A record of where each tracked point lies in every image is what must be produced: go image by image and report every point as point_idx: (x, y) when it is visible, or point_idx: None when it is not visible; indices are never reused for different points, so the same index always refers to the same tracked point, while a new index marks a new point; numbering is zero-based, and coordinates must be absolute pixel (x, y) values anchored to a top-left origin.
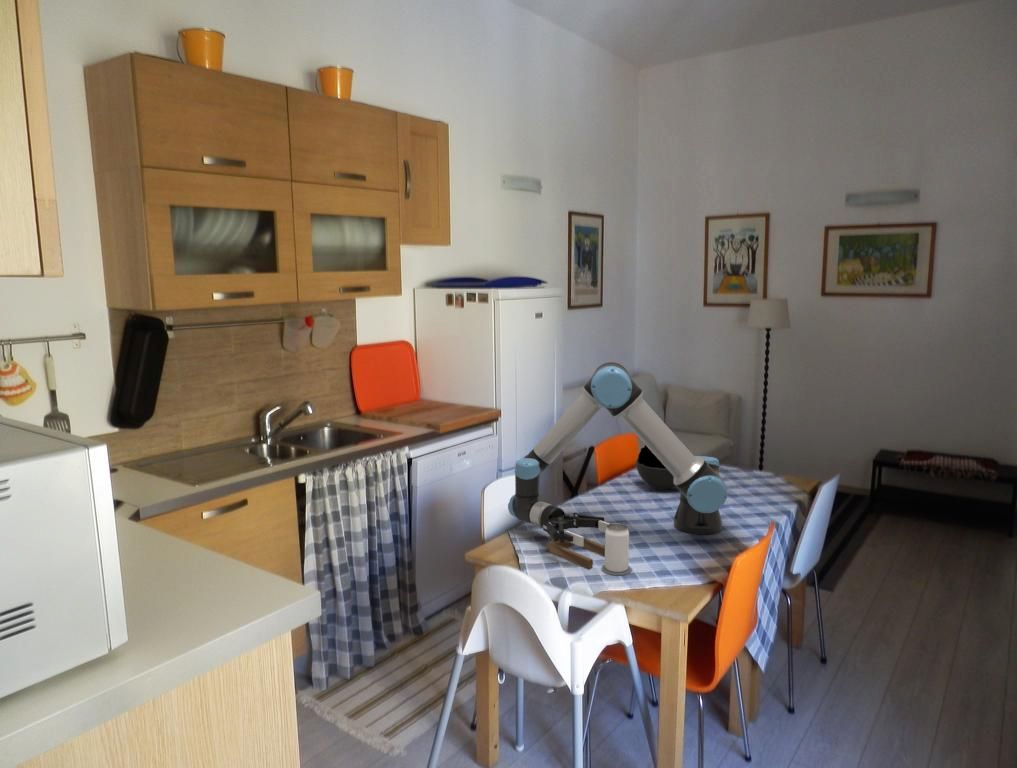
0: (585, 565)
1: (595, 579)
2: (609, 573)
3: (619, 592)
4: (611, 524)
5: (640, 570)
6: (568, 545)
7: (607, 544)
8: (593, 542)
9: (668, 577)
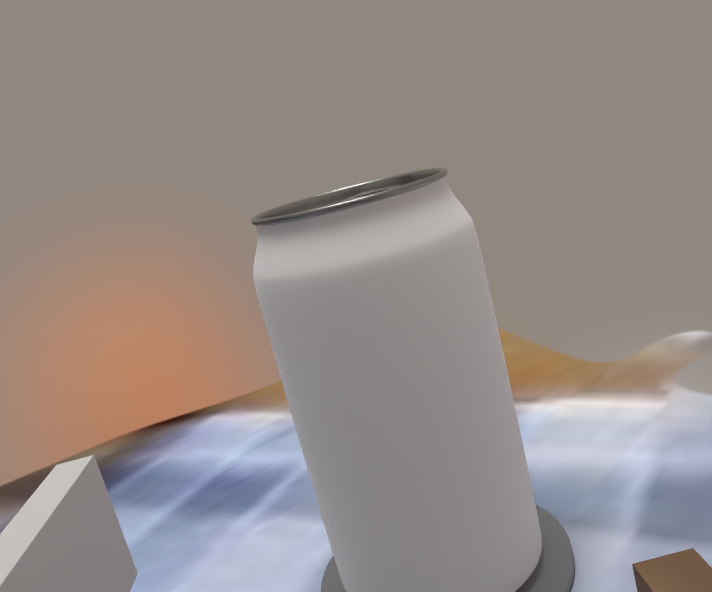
0: None
1: (705, 488)
2: (549, 516)
3: (612, 384)
4: (335, 212)
5: (302, 533)
6: None
7: (495, 319)
8: None
9: (261, 458)
